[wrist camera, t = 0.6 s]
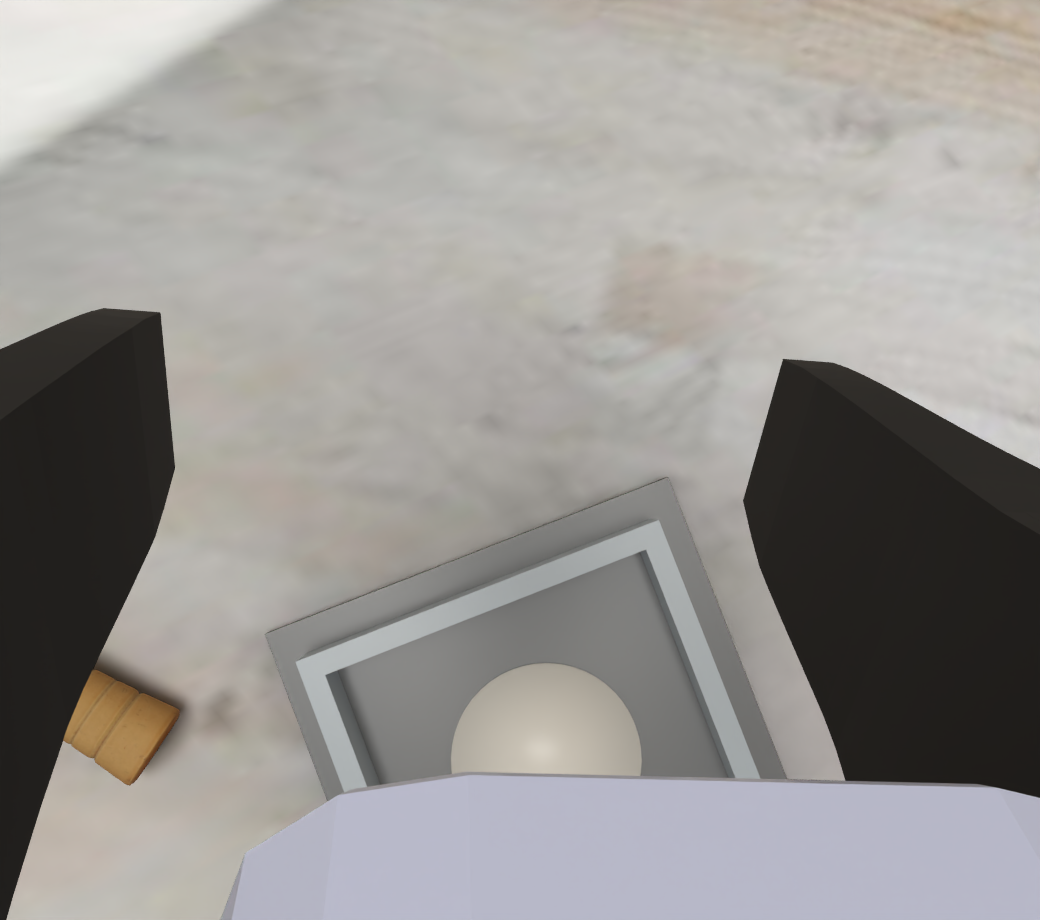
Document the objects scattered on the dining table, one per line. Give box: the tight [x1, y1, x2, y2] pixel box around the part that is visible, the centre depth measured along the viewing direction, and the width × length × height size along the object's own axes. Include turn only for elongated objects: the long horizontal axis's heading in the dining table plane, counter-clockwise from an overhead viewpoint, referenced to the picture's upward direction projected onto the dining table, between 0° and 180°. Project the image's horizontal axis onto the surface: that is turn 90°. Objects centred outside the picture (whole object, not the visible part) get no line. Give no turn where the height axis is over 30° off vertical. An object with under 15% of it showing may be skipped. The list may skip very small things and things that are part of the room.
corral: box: [265, 477, 787, 801], centre depth 34 cm, size 16×16×2 cm
